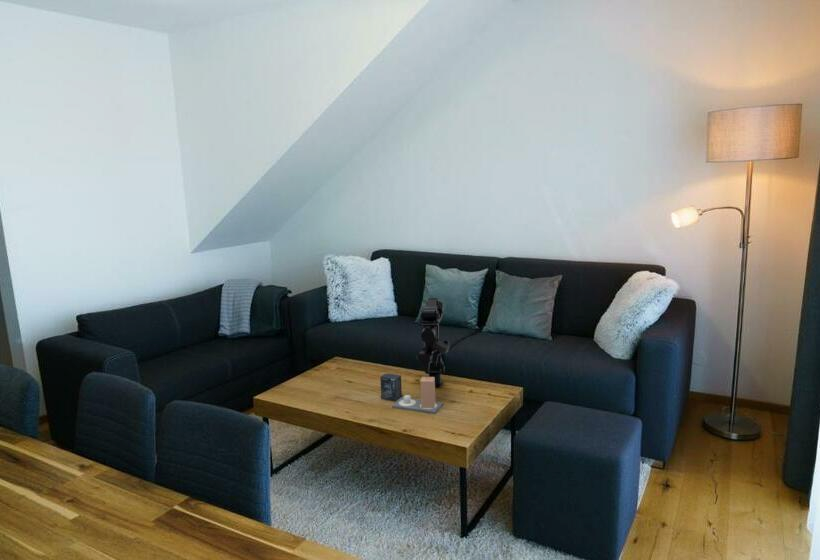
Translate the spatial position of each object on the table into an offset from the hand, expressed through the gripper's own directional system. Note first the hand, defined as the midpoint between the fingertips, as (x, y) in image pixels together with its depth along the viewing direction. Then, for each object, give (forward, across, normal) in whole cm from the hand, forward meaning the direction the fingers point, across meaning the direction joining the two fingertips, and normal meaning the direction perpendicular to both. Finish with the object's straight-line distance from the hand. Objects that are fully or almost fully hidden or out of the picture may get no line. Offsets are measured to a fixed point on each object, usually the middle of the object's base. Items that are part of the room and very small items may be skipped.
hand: (431, 369), depth 260 cm
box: (+13, -7, +17) cm, 23 cm away
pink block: (+12, -12, -3) cm, 17 cm away
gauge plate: (+13, -12, +2) cm, 18 cm away
